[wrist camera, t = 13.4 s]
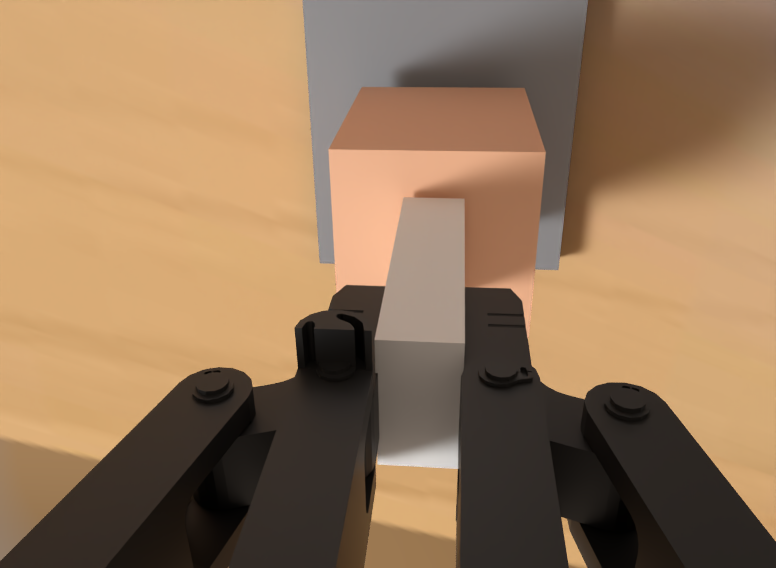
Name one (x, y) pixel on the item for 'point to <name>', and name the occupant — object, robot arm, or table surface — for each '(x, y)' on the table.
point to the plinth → (448, 76)
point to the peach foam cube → (439, 179)
